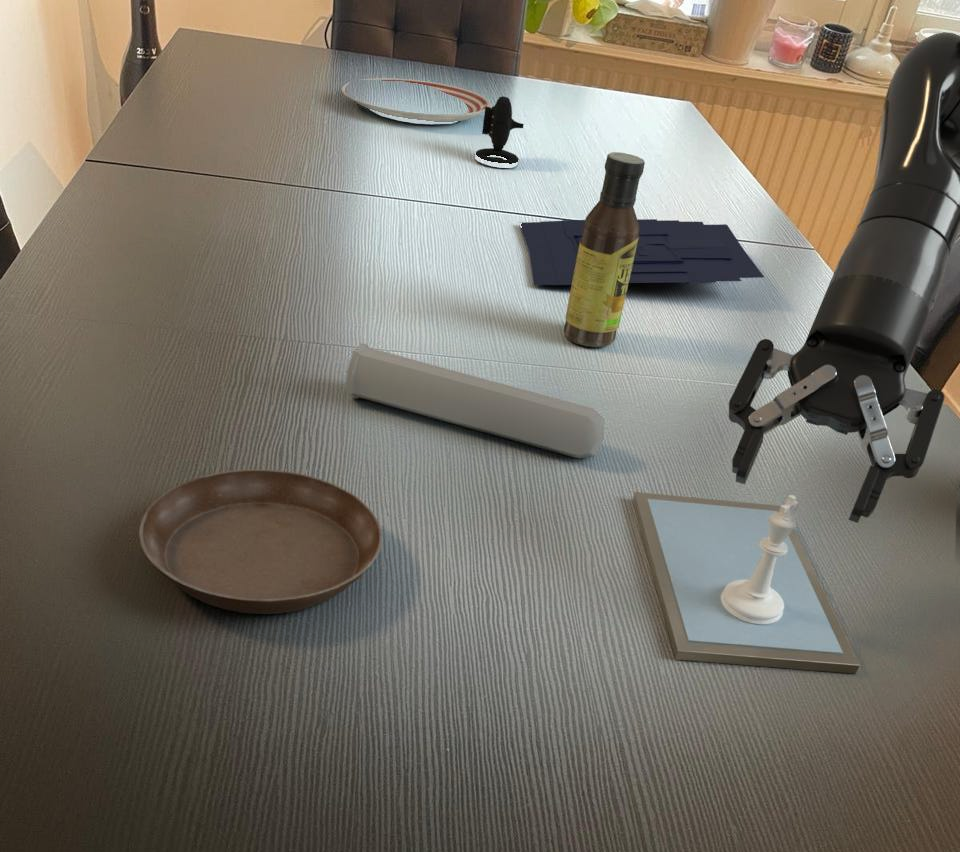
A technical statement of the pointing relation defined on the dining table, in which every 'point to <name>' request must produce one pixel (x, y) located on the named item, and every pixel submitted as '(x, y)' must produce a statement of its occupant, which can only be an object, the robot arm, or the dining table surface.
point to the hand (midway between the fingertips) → (796, 499)
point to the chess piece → (762, 575)
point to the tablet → (726, 558)
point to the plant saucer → (260, 539)
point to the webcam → (499, 131)
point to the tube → (474, 403)
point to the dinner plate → (471, 99)
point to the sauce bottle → (605, 256)
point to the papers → (644, 252)
